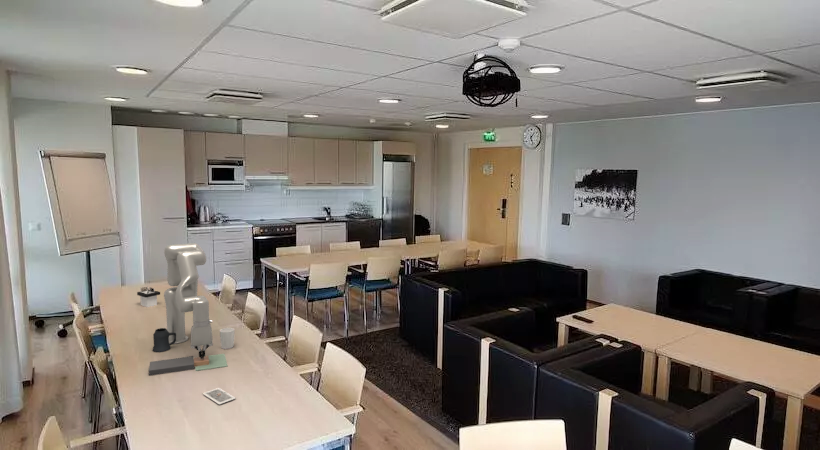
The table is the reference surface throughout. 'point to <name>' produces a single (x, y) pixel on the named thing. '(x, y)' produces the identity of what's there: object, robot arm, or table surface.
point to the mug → (162, 340)
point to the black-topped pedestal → (148, 297)
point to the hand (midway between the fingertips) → (202, 357)
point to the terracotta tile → (201, 361)
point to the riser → (171, 365)
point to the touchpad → (219, 395)
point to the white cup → (227, 338)
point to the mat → (214, 362)
